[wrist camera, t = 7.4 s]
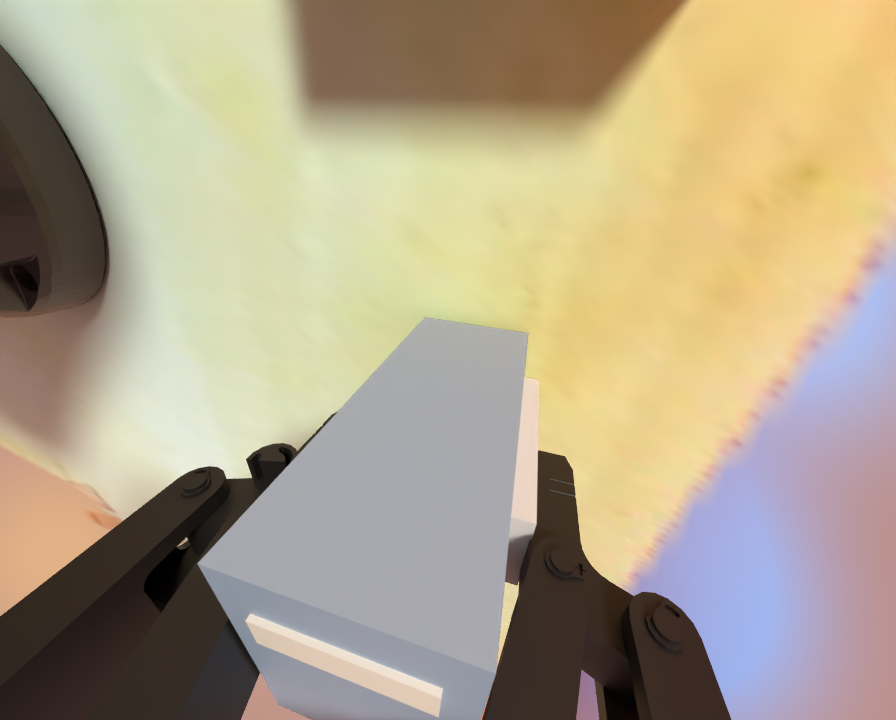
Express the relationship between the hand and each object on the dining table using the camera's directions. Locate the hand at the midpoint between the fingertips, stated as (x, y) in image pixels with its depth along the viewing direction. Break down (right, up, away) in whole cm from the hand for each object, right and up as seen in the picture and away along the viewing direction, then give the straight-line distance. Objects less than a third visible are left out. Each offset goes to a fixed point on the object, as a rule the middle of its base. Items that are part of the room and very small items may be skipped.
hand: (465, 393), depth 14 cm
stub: (0, +1, +1) cm, 1 cm away
